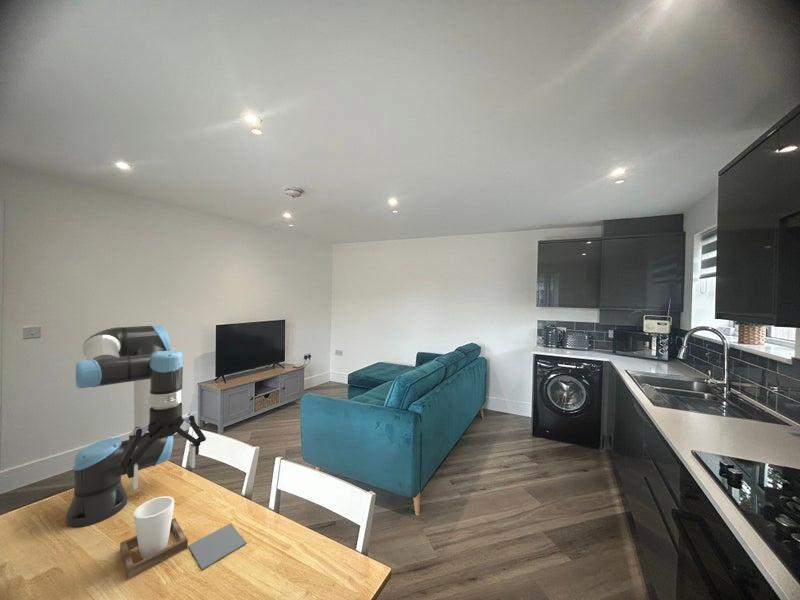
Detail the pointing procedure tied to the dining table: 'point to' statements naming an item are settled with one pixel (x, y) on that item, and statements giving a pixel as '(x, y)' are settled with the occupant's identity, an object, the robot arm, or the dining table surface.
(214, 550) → the mat
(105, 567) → the dining table surface
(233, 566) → the dining table surface
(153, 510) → the foam cup
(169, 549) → the frame
